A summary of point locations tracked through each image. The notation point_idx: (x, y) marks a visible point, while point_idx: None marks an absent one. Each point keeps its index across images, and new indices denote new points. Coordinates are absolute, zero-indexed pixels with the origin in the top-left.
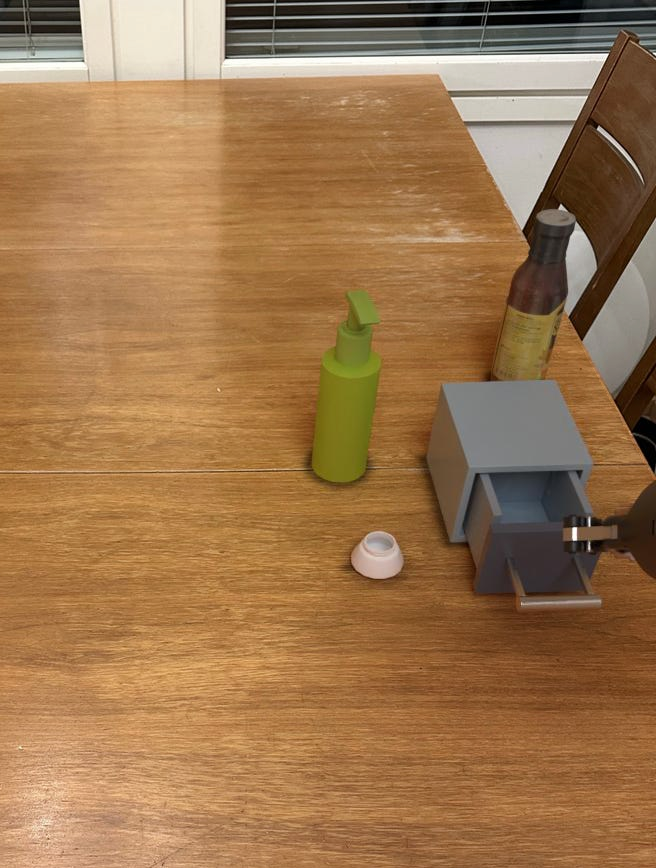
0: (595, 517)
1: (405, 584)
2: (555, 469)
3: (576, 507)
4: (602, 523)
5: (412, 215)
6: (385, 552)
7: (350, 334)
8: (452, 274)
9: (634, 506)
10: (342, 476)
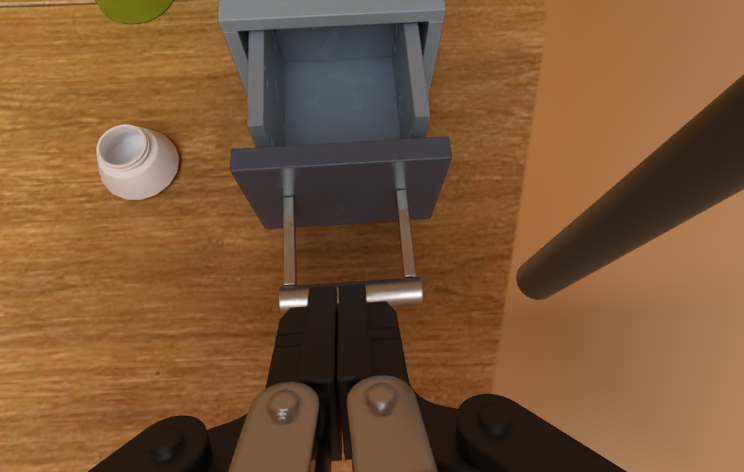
0: (165, 452)
1: (176, 205)
2: (379, 21)
3: (409, 97)
4: (304, 330)
5: None
6: (123, 166)
7: None
8: None
9: None
10: (128, 15)
